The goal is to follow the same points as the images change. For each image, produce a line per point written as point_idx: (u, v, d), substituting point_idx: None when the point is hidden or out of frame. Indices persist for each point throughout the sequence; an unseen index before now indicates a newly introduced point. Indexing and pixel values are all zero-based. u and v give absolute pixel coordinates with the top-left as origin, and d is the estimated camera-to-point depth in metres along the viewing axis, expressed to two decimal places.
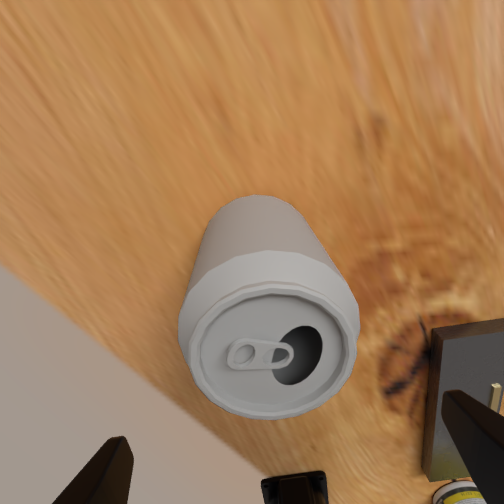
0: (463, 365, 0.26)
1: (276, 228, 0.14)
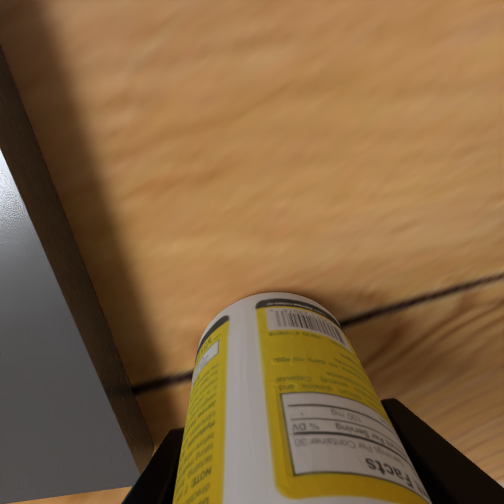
0: None
1: None
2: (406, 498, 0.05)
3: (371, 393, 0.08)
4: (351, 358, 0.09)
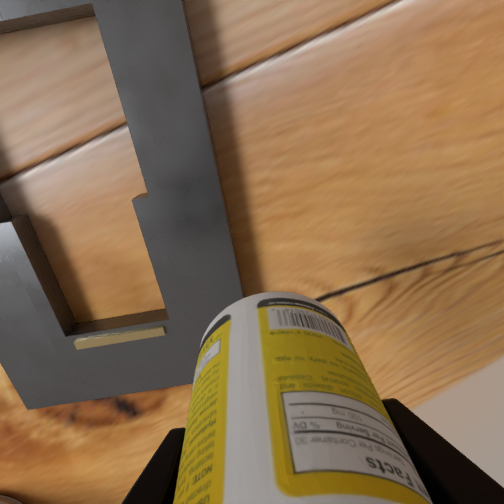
0: (55, 384, 0.23)
1: None
2: (406, 497, 0.05)
3: (372, 392, 0.08)
4: (352, 357, 0.09)
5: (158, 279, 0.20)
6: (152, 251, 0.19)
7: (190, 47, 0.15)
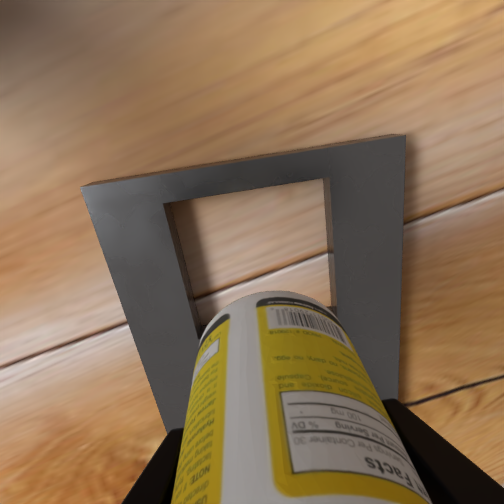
0: None
1: None
2: (405, 498, 0.05)
3: (371, 392, 0.08)
4: (352, 357, 0.09)
5: None
6: None
7: (403, 209, 0.18)
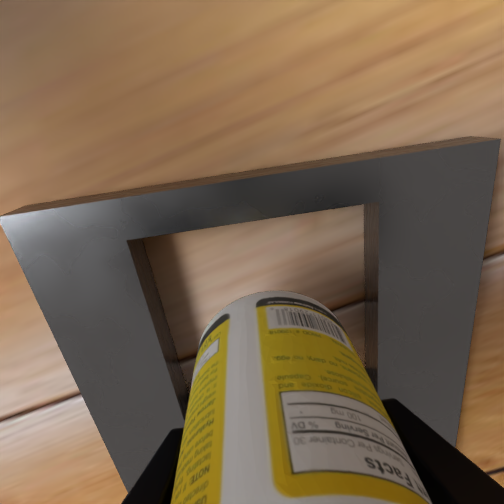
0: None
1: None
2: (405, 497, 0.05)
3: (371, 392, 0.08)
4: (352, 357, 0.09)
5: None
6: None
7: (483, 247, 0.12)
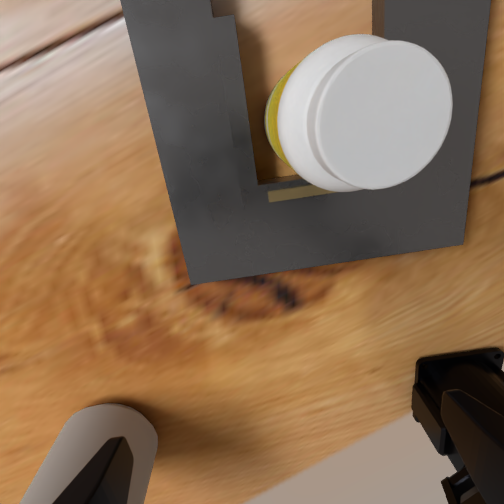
0: (230, 251, 0.19)
1: None
2: None
3: None
4: None
5: None
6: None
7: None
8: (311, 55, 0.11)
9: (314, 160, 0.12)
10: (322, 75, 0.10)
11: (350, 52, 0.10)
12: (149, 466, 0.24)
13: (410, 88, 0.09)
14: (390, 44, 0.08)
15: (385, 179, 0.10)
